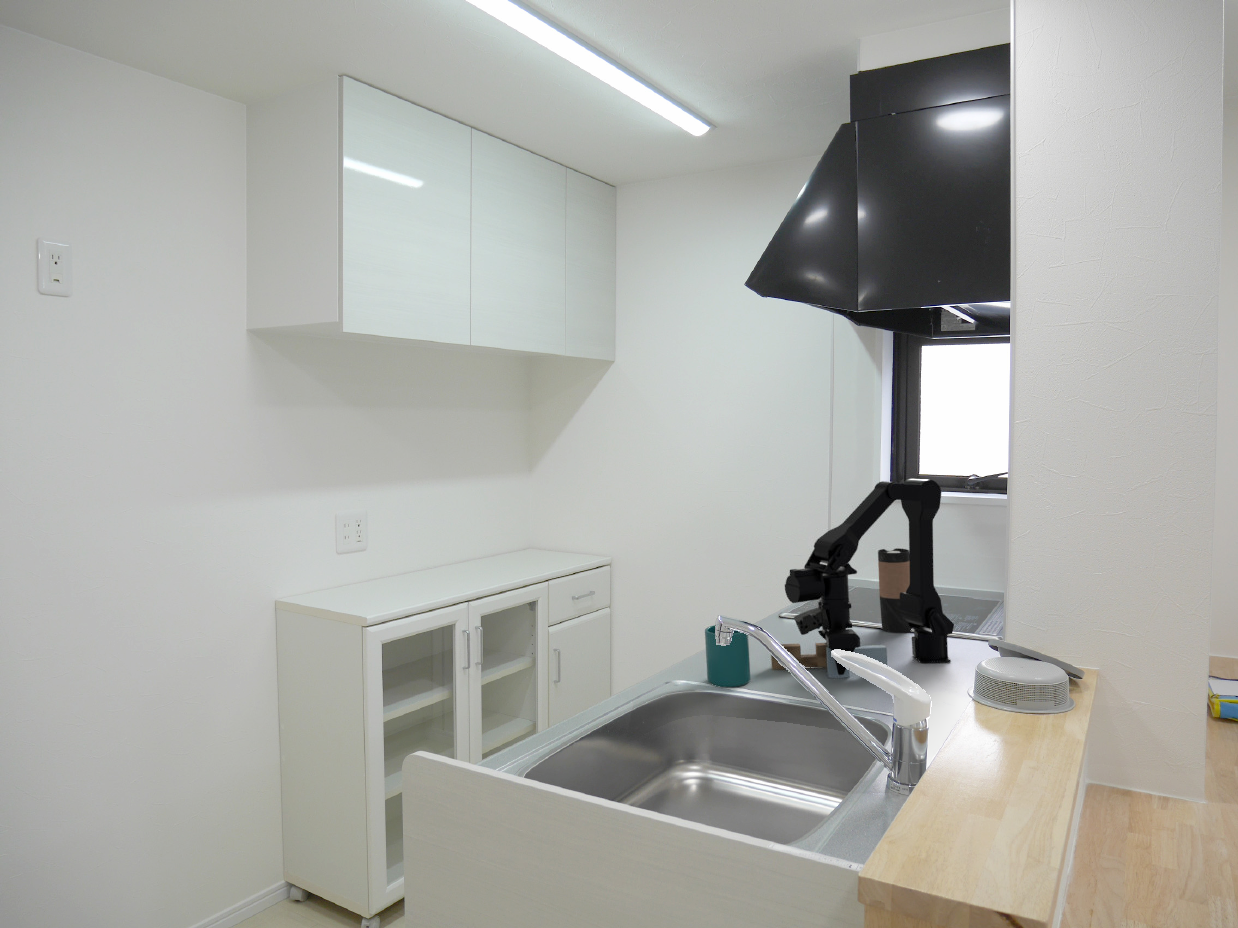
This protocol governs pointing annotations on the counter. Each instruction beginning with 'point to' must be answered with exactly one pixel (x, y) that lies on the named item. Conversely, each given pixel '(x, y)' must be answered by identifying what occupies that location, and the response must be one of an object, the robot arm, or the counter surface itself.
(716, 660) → the cup
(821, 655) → the walnut board
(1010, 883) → the counter surface
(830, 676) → the slate block
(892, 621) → the travel mug
